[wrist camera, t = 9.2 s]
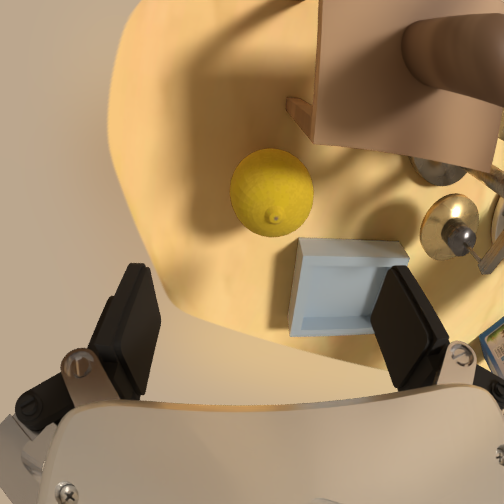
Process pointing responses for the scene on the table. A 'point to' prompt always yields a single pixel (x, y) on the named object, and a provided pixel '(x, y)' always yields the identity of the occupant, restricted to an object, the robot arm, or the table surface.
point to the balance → (458, 213)
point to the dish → (339, 284)
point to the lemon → (271, 192)
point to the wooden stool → (408, 79)
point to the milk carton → (494, 347)
